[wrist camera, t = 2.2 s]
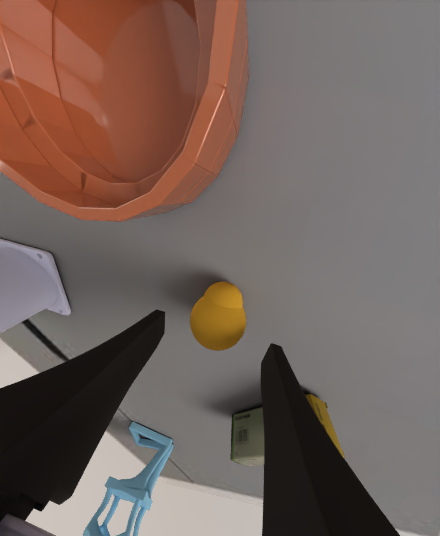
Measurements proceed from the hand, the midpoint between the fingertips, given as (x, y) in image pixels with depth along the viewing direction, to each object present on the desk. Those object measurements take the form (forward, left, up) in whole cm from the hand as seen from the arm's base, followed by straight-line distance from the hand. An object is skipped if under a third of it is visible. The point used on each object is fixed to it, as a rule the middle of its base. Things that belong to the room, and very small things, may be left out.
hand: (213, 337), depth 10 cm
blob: (0, 0, -4) cm, 4 cm away
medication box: (+9, -14, -4) cm, 17 cm away
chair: (-7, -37, -4) cm, 37 cm away
